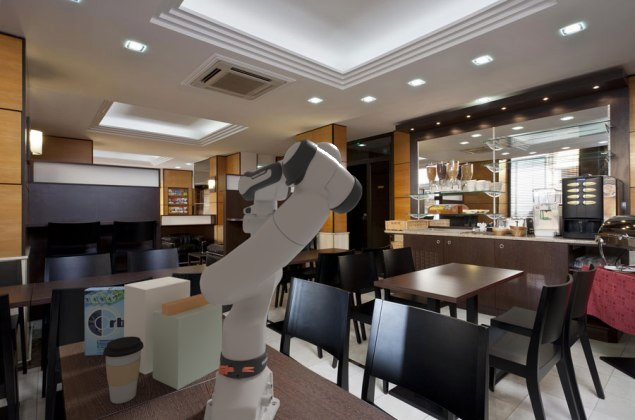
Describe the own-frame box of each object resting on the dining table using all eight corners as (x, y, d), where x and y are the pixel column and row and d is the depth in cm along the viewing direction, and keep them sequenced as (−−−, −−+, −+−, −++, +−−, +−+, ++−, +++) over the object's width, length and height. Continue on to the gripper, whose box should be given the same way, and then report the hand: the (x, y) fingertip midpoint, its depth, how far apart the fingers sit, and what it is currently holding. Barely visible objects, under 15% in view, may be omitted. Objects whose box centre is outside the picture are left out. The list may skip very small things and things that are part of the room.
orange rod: (229, 295, 119) (229, 286, 119) (234, 296, 117) (235, 287, 117) (161, 314, 97) (161, 303, 97) (168, 316, 95) (168, 305, 95)
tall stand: (168, 347, 121) (168, 276, 121) (189, 355, 115) (190, 280, 115) (123, 364, 108) (124, 284, 108) (144, 374, 101) (145, 289, 101)
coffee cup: (117, 387, 94) (117, 334, 94) (150, 388, 94) (150, 335, 94) (94, 407, 84) (94, 349, 84) (130, 408, 84) (130, 349, 84)
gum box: (148, 347, 121) (149, 285, 121) (143, 353, 116) (144, 288, 116) (91, 350, 118) (91, 286, 118) (83, 356, 113) (83, 289, 113)
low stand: (196, 357, 113) (197, 299, 113) (221, 367, 107) (222, 305, 107) (152, 378, 99) (153, 311, 99) (177, 389, 93) (178, 319, 93)
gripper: (292, 210, 123) (292, 247, 123) (251, 209, 134) (251, 243, 134) (282, 209, 118) (281, 248, 118) (240, 209, 128) (239, 244, 128)
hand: (265, 245), depth 126 cm, fingers open, 8 cm apart
